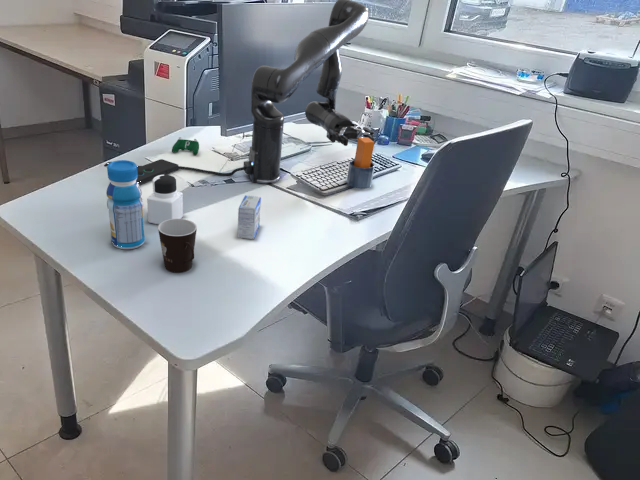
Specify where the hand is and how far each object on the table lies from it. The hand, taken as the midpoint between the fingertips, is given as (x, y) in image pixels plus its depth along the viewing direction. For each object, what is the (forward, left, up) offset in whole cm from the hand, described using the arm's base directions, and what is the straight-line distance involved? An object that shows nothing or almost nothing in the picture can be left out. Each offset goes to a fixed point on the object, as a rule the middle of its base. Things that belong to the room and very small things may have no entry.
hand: (359, 142), depth 171 cm
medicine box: (-43, -29, -13) cm, 53 cm away
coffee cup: (0, -4, -13) cm, 13 cm away
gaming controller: (-48, +34, -13) cm, 60 cm away
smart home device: (-64, +15, -13) cm, 67 cm away
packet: (0, -4, -12) cm, 13 cm away
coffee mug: (-64, -44, -13) cm, 79 cm away
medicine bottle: (-63, -18, -13) cm, 67 cm away
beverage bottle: (-74, -29, -13) cm, 80 cm away
